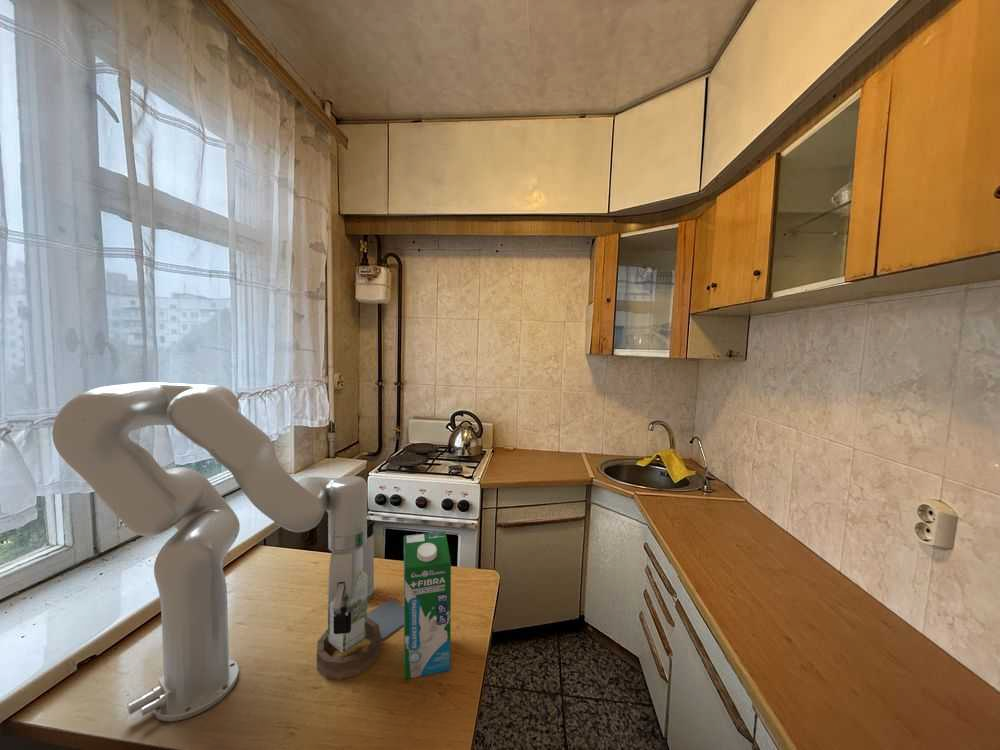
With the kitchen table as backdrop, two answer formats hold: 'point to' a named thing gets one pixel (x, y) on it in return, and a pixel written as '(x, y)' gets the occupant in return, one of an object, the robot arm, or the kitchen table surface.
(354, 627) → the syrup box
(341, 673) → the collar
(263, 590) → the kitchen table surface
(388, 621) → the mat
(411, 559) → the milk carton
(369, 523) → the travel mug
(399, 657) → the kitchen table surface
